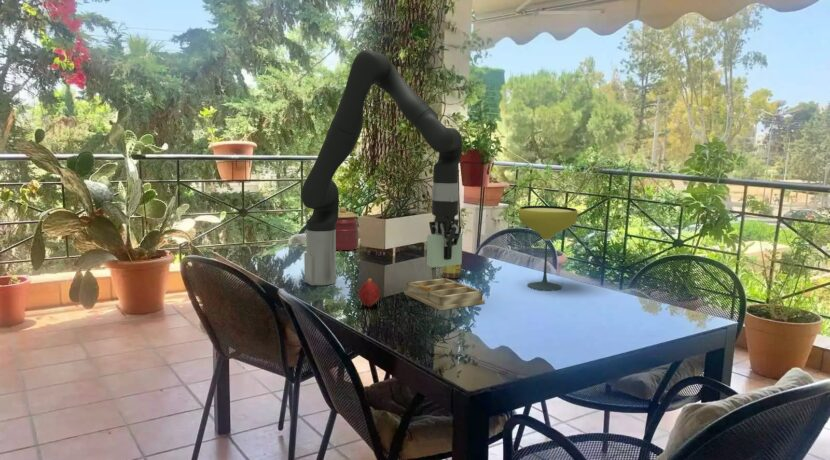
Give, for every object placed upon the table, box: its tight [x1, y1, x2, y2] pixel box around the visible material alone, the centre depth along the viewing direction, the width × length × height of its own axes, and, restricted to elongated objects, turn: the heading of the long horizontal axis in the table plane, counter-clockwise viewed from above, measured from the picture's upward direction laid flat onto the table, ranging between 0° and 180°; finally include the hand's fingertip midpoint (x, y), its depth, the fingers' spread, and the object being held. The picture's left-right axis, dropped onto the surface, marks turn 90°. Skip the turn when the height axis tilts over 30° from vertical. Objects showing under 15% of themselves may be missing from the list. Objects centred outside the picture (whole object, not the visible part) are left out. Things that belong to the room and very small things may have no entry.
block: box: [426, 232, 463, 268], centre depth 178 cm, size 10×3×9 cm, turn 120°
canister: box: [336, 206, 360, 252], centre depth 258 cm, size 13×13×18 cm
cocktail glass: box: [518, 205, 579, 292], centre depth 194 cm, size 18×18×25 cm
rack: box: [403, 277, 486, 311], centre depth 179 cm, size 15×20×4 cm
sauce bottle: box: [441, 217, 462, 279], centre depth 207 cm, size 6×6×20 cm
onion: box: [358, 278, 381, 308], centre depth 169 cm, size 6×6×8 cm
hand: (444, 258), depth 178 cm, fingers closed on block, 3 cm apart
